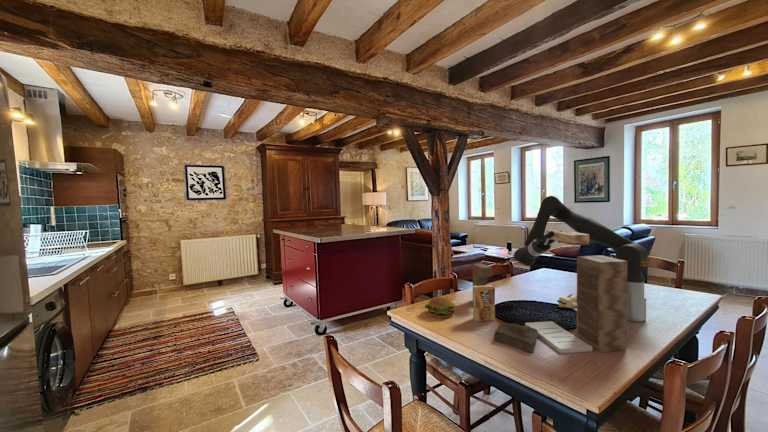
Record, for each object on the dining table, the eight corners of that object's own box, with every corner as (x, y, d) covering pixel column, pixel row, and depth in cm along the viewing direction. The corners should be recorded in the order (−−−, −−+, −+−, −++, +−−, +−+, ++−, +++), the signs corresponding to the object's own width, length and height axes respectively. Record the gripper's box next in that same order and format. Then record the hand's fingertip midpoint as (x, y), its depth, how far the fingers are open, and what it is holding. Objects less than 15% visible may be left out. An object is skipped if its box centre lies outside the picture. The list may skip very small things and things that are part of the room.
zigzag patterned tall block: (600, 335, 125) (601, 255, 123) (626, 350, 113) (627, 261, 111) (576, 337, 124) (576, 256, 122) (599, 352, 112) (600, 262, 110)
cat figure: (589, 302, 168) (550, 303, 161) (590, 286, 168) (552, 286, 161) (607, 308, 158) (566, 310, 152) (608, 291, 158) (568, 292, 151)
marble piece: (533, 354, 112) (533, 343, 112) (490, 345, 120) (490, 334, 120) (540, 336, 126) (540, 326, 126) (501, 329, 134) (501, 319, 134)
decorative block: (493, 305, 162) (492, 267, 161) (483, 306, 161) (482, 268, 160) (482, 299, 173) (481, 263, 172) (472, 300, 172) (472, 263, 171)
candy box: (491, 317, 147) (491, 284, 146) (495, 320, 143) (495, 287, 142) (473, 318, 147) (472, 285, 146) (476, 321, 142) (475, 287, 142)
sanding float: (556, 237, 148) (556, 229, 148) (589, 244, 127) (589, 234, 127) (542, 238, 148) (542, 229, 147) (572, 245, 127) (572, 235, 126)
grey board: (551, 324, 137) (551, 321, 137) (592, 351, 113) (592, 346, 113) (524, 326, 136) (524, 322, 136) (560, 353, 112) (560, 348, 112)
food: (440, 307, 163) (439, 291, 163) (460, 314, 151) (460, 298, 151) (419, 312, 155) (419, 296, 155) (439, 321, 144) (439, 304, 143)
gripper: (523, 240, 158) (540, 225, 143) (550, 239, 159) (570, 224, 144) (527, 254, 155) (545, 241, 139) (554, 253, 156) (575, 239, 141)
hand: (557, 232), depth 142 cm, fingers closed on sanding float, 3 cm apart
